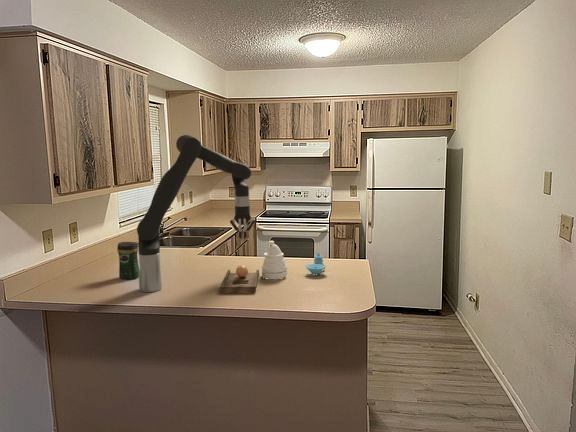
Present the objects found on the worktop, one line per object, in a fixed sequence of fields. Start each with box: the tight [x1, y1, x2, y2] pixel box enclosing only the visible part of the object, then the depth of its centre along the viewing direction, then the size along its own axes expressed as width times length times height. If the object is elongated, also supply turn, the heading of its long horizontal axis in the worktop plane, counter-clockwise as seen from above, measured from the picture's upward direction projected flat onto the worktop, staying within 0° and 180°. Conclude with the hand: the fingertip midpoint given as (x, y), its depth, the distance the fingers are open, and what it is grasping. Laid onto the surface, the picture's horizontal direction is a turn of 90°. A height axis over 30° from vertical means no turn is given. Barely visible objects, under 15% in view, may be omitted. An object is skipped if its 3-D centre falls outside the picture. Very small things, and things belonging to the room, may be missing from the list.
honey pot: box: [261, 240, 288, 279], centre depth 222 cm, size 13×13×18 cm
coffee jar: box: [117, 241, 140, 280], centre depth 222 cm, size 10×8×19 cm
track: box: [219, 269, 260, 294], centre depth 211 cm, size 16×28×3 cm, turn 1°
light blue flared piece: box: [305, 252, 327, 275], centre depth 229 cm, size 18×10×9 cm, turn 167°
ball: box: [235, 264, 249, 277], centre depth 217 cm, size 6×6×6 cm
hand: (243, 238), depth 224 cm, fingers closed
